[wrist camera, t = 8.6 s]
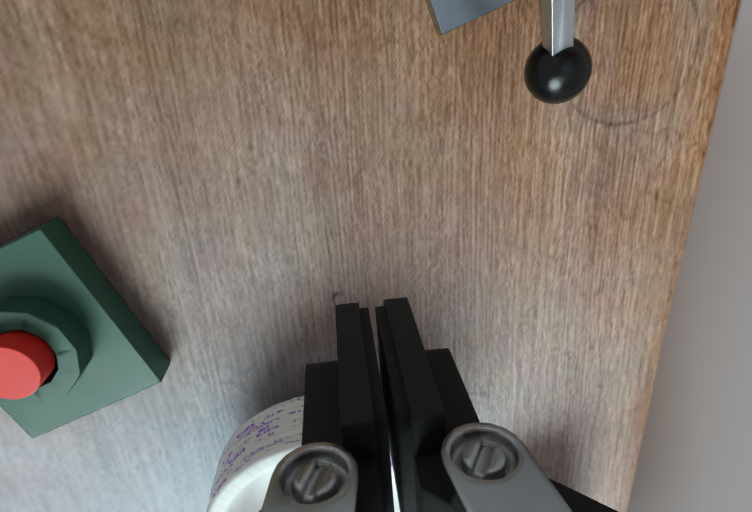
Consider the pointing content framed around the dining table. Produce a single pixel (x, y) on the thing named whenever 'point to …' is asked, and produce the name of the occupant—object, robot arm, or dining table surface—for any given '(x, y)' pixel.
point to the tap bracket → (459, 12)
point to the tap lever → (558, 56)
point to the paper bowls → (259, 458)
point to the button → (23, 363)
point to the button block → (71, 329)
